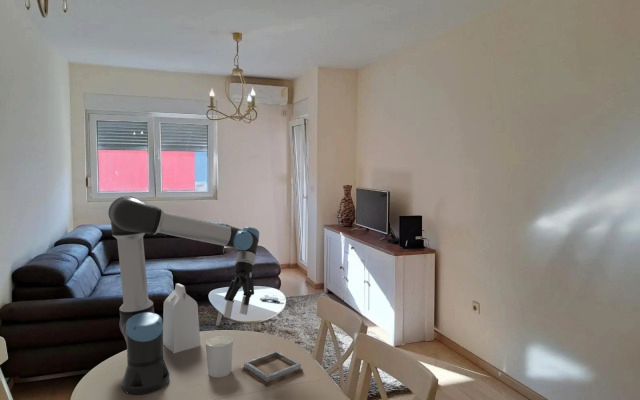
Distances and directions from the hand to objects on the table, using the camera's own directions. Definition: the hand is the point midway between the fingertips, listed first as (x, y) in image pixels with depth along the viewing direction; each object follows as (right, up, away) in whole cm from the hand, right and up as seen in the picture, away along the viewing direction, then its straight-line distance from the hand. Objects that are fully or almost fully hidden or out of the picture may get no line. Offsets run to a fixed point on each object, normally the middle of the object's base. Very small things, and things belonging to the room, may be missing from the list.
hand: (234, 315), depth 165 cm
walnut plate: (+16, -18, -9) cm, 25 cm away
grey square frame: (+16, -18, -9) cm, 25 cm away
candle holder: (-4, -18, -10) cm, 21 cm away
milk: (-26, -17, +15) cm, 34 cm away
